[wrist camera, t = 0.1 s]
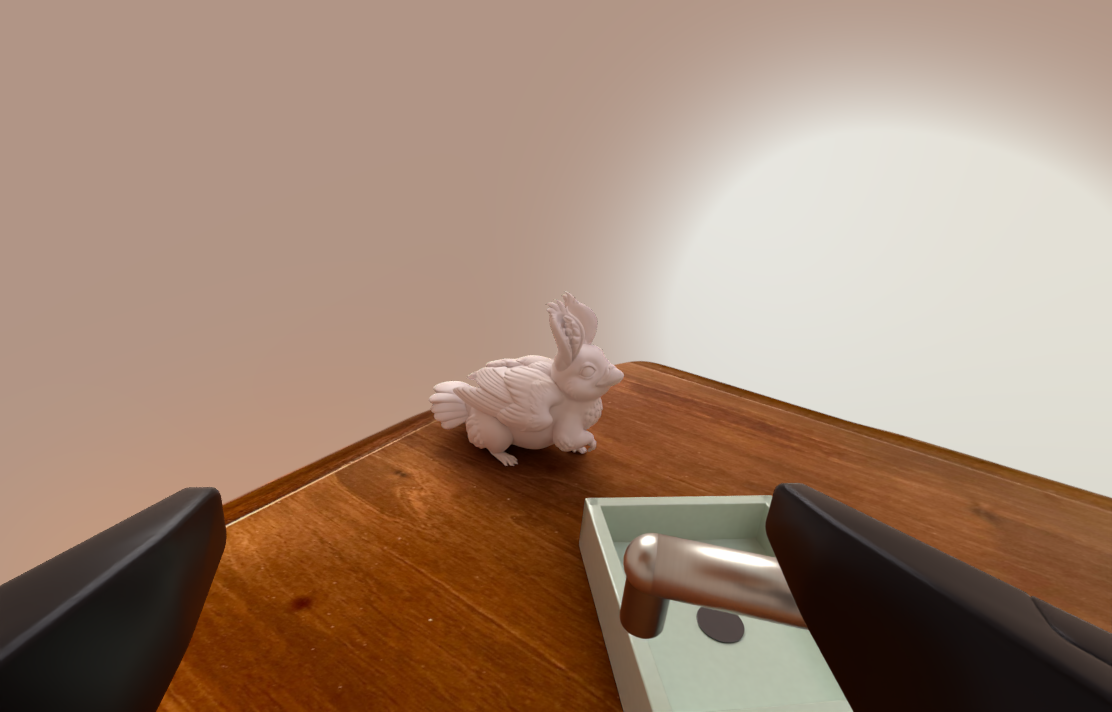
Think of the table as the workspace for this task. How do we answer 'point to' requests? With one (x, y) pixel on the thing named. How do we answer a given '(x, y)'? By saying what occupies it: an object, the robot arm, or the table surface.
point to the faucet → (700, 583)
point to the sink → (699, 618)
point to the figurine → (535, 392)
